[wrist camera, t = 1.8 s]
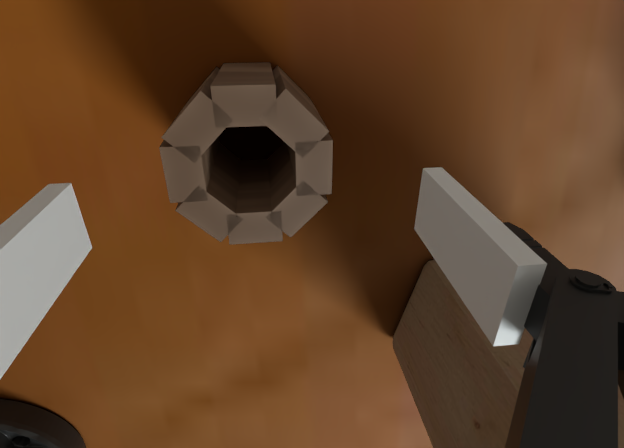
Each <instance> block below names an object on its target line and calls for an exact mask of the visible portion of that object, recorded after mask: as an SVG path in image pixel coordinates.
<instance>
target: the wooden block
mask: <svg viewBox="0 0 624 448" xmlns="http://www.w3.org/2000/svg"><path fill="white" fill-rule="evenodd" d="M532 341H533V337H532V336H531V335H530V333H529V332H528V331H527V330H526V328H524V331H523V334H522V337H521V340H520V343H519V344H515V345H504V346H493V345H492V344H491V342H490V341H489V340H488V338H487V337H486V335H485V334H484V332H483V331H482V329H481V328H480V326H479V325H478V323H477V322H476V320H475V319H474V317H473V316H472V314H471V313H470V311H469V310H468V308H467V307H466V305H465V304H464V302H463V301H462V299H461V298H460V296H459V295H458V293H457V292H456V290H455V289H454V287H453V286H452V284H451V283H450V281H449V280H448V279H447V277H446V276H445V274H444V273H443V271H442V270H441V268H440V267H439V265H438V264H437V262H436V261H435V260H431V261H428V262H427V263H426V264H425V265H424V267H423V269H422V272H421V274H420V276H419V278H418V281H417V283H416V285H415V288H414V290H413V292H412V295H411V297H410V299H409V301H408V304H407V306H406V308H405V311H404V313H403V315H402V317H401V320H400V322H399V324H398V327H397V329H396V331H395V334H394V336H393V349H394V351H395V354H396V356H397V359H398V361H399V364H400V366H401V369H402V371H403V373H404V376H405V378H406V381H407V383H408V386H409V388H410V391H411V393H412V396H413V398H414V401H415V403H416V406H417V408H418V411H419V413H420V416H421V418H422V421H423V423H424V426H425V428H426V431H427V433H428V436H429V438H430V441H431V443H432V446H433V448H505V445H506V441H507V437H508V433H509V429H510V425H511V421H512V417H513V413H514V409H515V405H516V401H517V397H518V393H519V389H520V385H521V381H522V377H523V373H524V369H525V368H524V367H523V365H524V362H525V359H526V357H527V354H528V351H529V349H530V346H531V343H532ZM618 448H624V399H623V396H622V394H621V391H620V388H619V385H618Z"/></svg>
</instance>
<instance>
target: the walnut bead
mask: <svg viewBox="0 0 624 448" xmlns="http://www.w3.org/2000/svg"><path fill="white" fill-rule="evenodd" d="M250 126H267V127H269V128H270V129H271V130H272V131H273V132H274V133H275V134H276V135H277V136H279V137H280V138H281V139H282V140H283V141H284V143H283V144H282V145H281V146H280V147H279V148H278V149H277V150H276V151H275V152H274V153H273V154H272V155H271V156H270V157H269V158H268V159H259V160H240V159H239V158H238V157H236V156H235V155H234V154H233V153H232V152H230V151H229V150H228V149H227V148H226V147H224V146H223V145H222V144H221V143H220V141H219V135H220V134H221V133H222V132H223V131H224V129H225V128H226V127H250ZM328 132H329V130H328V128H327V127H326V125H325V123H324V121H323V120H322V118H321V116H320V115H319V113H318V111H317V110H316V108H315V106H314V104H313V103H312V101H311V99H310V98H309V97H308V96H307V95H306V94H305V93H304V92H303V91H302V90H301V89H300V88H299V87H298V86H297V85H296V84H295V83H294V82H293V81H292V80H291V78H290V77H289V76H288V75H287V74H286V73H285V72H284V71H283V70H282V69H281V68H280V67H279V66H278V65H277V66H276V67H275V69H274V70H273V71H272V68H271V64H270V62H257V63H223V65H222V67H221V69H219V68H218V67H216V68H215V69H214V70H213V72H212V73H211V74H210V75H209V76H208V78H207V79H206V80H205V81H204V82H203V84H202V85H201V86H200V87H199V88H198V90H197V91H196V92H195V93H194V95H193V96H192V97H191V98H190V99H189V101H188V102H187V103H186V105H185V106H184V107H183V109H182V110H181V112H180V113H179V114H178V116H177V117H176V118H175V120H174V121H173V123H172V124H171V125H170V127H169V128H168V129H167V131H166V132H165V134H164V135H163V136H162V138H163V139H164V141H163V143H162V144H161V145H160V147H159V149H160V154H161V159H162V164H163V169H164V174H165V179H166V184H167V189H168V195H169V200H170V203H176V202H179V203H178V205H177V208H176V210H175V211H177V212H178V213H180V214H181V215H183V216H184V217H185V218H187V219H188V220H190V221H191V222H193V223H194V224H195V225H197V226H198V227H200V228H201V229H203V230H204V231H206V232H207V233H208V234H210V235H211V236H213V237H214V238H216V239H217V240H218V241H220V242H221V241H222V240H223V239H224V238H225V237H226V236H227V235H229V244H245V243H260V242H275V241H283V237H282V231H283V232H284V233H286V234H287V235H288V236H289V237H292V236H293V235H294V234H295V233H296V232H297V231H298V230H299V229H300V228H301V227H302V226H303V225H304V224H305V223H307V222H308V221H309V220H310V219H311V218H312V217H313V216H314V215H315V214H316V213H317V212H318V211H319V210H320V209H321V208H322V207H323V206H324V205H325V204H326V203H328V201H327V198H326V195H325V194H332V160H333V140H332V138H331V136H330V134H329V133H328Z"/></svg>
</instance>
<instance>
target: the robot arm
mask: <svg viewBox="0 0 624 448" xmlns="http://www.w3.org/2000/svg"><path fill="white" fill-rule="evenodd" d="M414 229H415V231H416V232H417V234H418V235H419V237H420V238H421V240H422V241H423V243H424V244H425V246H426V247H427V249H428V250H429V252H430V253H431V255H432V256H433V258H434V259H435V261H436V262H437V264H438V265H439V267H440V268H441V270H442V271H443V273H444V274H445V276H446V277H447V279H448V280H449V281H450V283H451V284H452V286H453V287H454V289H455V290H456V292H457V293H458V295H459V296H460V298H461V299H462V301H463V302H464V304H465V305H466V307H467V308H468V310H469V311H470V313H471V314H472V316H473V317H474V319H475V320H476V322H477V323H478V325H479V326H480V328H481V329H482V331H483V332H484V334H485V335H486V337H487V338H488V340H489V341H490V342H491V344H492V345H493V346H504V345H515V344H519V343H520V340H521V337H522V334H523V331H524V328H526V330H527V331H528V332H529V333H530V335H531V336H532V337H533V341H532V343H531V346H530V349H529V351H528V354H527V357H526V359H525V362H524V365H523V367H524V368H525V369H524V373H523V377H522V381H521V385H520V389H519V393H518V397H517V401H516V405H515V409H514V413H513V417H512V421H511V425H510V429H509V433H508V437H507V441H506V445H505V448H618V385H619V388H620V391H621V394H622V396H623V399H624V292H619V291H616V288H615V287H614V286H613V285H612V284H611V283H610V282H609V281H607V280H606V279H604V278H602V277H601V276H599V275H596V274H593V273H591V272H588V271H583V270H578V269H568V268H567V267H566V266H565V265H563V264H562V263H561V262H560V261H559V260H558V259H557V258H555V257H554V256H553V255H552V254H551V253H550V252H548V251H547V250H546V249H545V248H542V245H540V244H539V243H538V242H537V241H536V240H534V239H533V238H532V237H531V236H530V235H529V234H528V233H527V232H525V231H524V230H523V229H521V228H519V227H517V226H515V225H513V224H511V223H509V222H506V223H502V222H501V221H500V220H499V219H498V218H497V217H496V216H494V215H493V214H492V213H491V212H490V211H489V210H488V209H487V208H486V207H485V206H484V205H482V204H481V203H480V202H479V201H478V200H477V199H476V198H475V197H474V196H473V195H471V194H470V193H469V192H468V191H467V190H466V189H465V188H464V187H463V186H462V185H461V184H459V183H458V182H457V181H456V180H455V179H454V178H453V177H452V176H451V175H450V174H449V173H447V172H446V171H445V170H444V169H443V168H442V167H436V168H423V171H422V178H421V185H420V192H419V199H418V206H417V213H416V220H415V227H414ZM91 249H92V245H91V242H90V239H89V236H88V233H87V230H86V227H85V224H84V221H83V218H82V215H81V212H80V209H79V205H78V202H77V199H76V196H75V193H74V190H73V187H72V184H71V183H63V184H48V185H47V186H46V187H45V188H44V189H42V190H41V191H40V192H39V193H38V194H37V195H35V196H34V197H33V198H32V199H31V200H29V201H28V202H27V203H26V204H25V205H24V206H22V207H21V208H20V209H19V210H18V211H16V212H15V213H14V214H13V215H12V216H11V217H9V218H8V219H7V220H6V221H5V222H4V223H2V224H1V225H0V379H1V378H2V376H3V375H4V373H5V372H6V371H7V369H8V368H9V366H10V365H11V363H12V362H13V361H14V359H15V358H16V356H17V355H18V353H19V352H20V351H21V349H22V348H23V346H24V345H25V343H26V342H27V340H28V339H29V338H30V336H31V335H32V333H33V332H34V330H35V329H36V328H37V326H38V325H39V323H40V322H41V320H42V319H43V317H44V316H45V315H46V313H47V312H48V310H49V309H50V307H51V306H52V305H53V303H54V302H55V300H56V299H57V297H58V296H59V294H60V293H61V292H62V290H63V289H64V287H65V286H66V284H67V283H68V282H69V280H70V279H71V277H72V276H73V274H74V273H75V272H76V270H77V269H78V267H79V266H80V264H81V263H82V261H83V260H84V259H85V257H86V256H87V254H88V253H89V251H90V250H91ZM0 448H86V446H85V443H84V441H83V439H82V437H81V436H80V434H79V433H78V432H77V431H76V430H75V429H74V428H73V427H72V426H71V425H70V424H68V423H67V422H66V421H64V420H63V419H61V418H60V417H58V416H56V415H54V414H52V413H50V412H48V411H46V410H43V409H41V408H38V407H35V406H32V405H29V404H25V403H21V402H16V401H11V400H4V399H0Z"/></svg>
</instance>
